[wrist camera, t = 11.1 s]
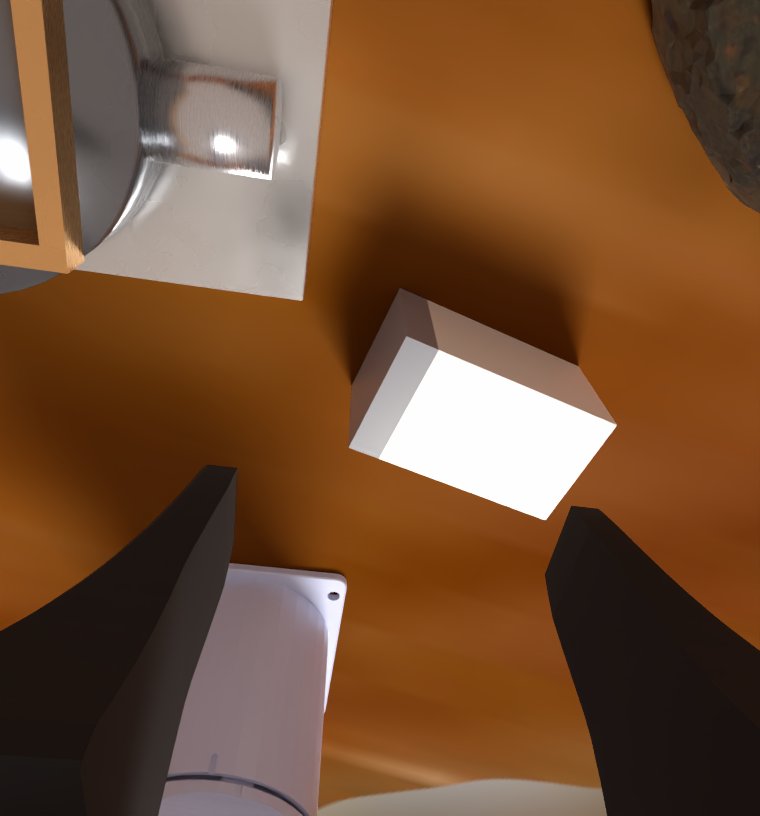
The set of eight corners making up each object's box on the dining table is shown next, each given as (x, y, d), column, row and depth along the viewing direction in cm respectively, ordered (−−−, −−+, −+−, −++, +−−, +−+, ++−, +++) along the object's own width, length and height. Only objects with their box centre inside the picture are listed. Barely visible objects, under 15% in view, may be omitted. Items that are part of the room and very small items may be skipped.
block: (545, 520, 21) (348, 447, 19) (519, 451, 24) (351, 385, 22) (616, 425, 19) (406, 336, 17) (578, 365, 22) (400, 287, 21)
